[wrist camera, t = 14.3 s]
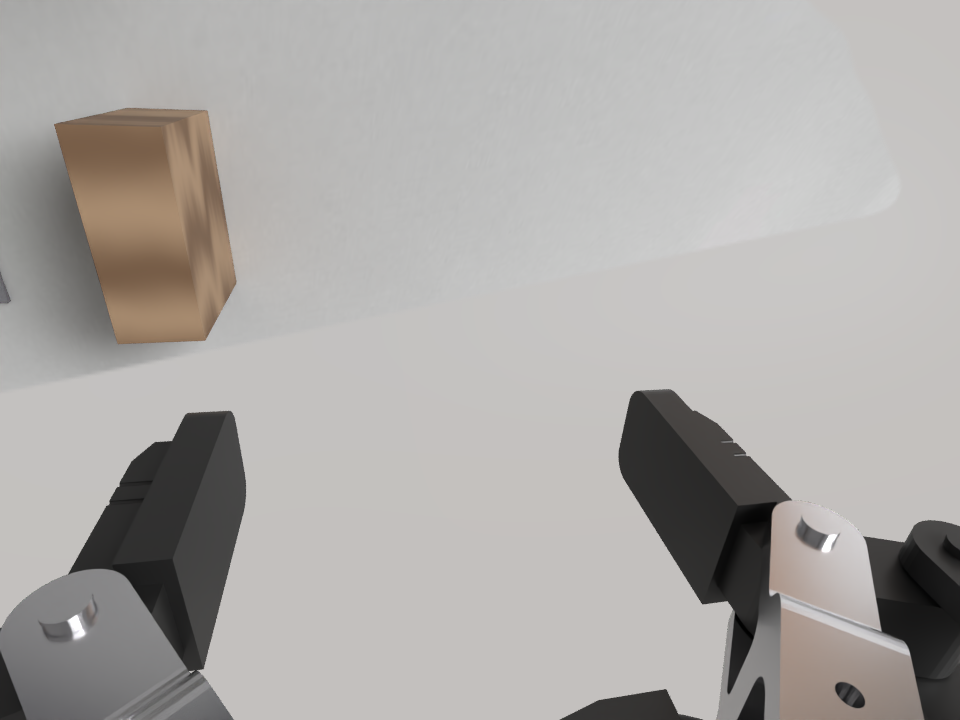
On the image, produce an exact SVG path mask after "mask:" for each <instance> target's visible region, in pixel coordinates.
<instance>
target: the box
mask: <svg viewBox="0 0 960 720" xmlns="http://www.w3.org/2000/svg"><path fill="white" fill-rule="evenodd" d="M54 126H55V129H56V133H57V136H58V140H59V143H60V147H61V150H62V153H63V157H64V160H65V164H66V167H67V171H68V174H69V178H70V181H71V184H72V188H73V191H74V195H75V198H76V202H77V205H78V209H79V212H80V215H81V219H82V222H83V226H84V229H85V233H86V236H87V240H88V243H89V246H90V250H91V253H92V257H93V260H94V264H95V267H96V271H97V274H98V277H99V281H100V284H101V288H102V291H103V295H104V298H105V302H106V305H107V309H108V312H109V315H110V319H111V322H112V326H113V329H114V333H115V336H116V340H117V343H118V344H131V343H156V342H181V341H205V340H206V338H207V336H208V334H209V333H210V331H211V329H212V327H213V325H214V323H215V322H216V320H217V318H218V316H219V314H220V312H221V310H222V309H223V307H224V305H225V303H226V301H227V299H228V298H229V296H230V294H231V292H232V290H233V288H234V287H235V285H236V277H235V271H234V265H233V259H232V253H231V247H230V242H229V236H228V230H227V224H226V218H225V212H224V206H223V200H222V194H221V188H220V182H219V176H218V170H217V164H216V159H215V153H214V147H213V141H212V135H211V129H210V123H209V117H208V111H202V110H172V109H141V108H125V109H121V110H116V111H112V112H107V113H103V114H98V115H93V116H89V117H84V118H80V119H75V120H70V121H66V122H61V123H57V124H54Z"/></svg>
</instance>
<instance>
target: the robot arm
mask: <svg viewBox="0 0 960 720" xmlns="http://www.w3.org/2000/svg"><path fill="white" fill-rule="evenodd" d="M619 465H620V470H621V473H622V476H623V478H624V480H625V482H626V483H627V485H628V486H629V488H630V490H631V491H632V493H633V494H634V496H635V498H636V499H637V501H638V502H639V504H640V506H641V507H642V509H643V510H644V512H645V514H646V515H647V517H648V518H649V520H650V522H651V523H652V525H653V526H654V528H655V529H656V531H657V533H658V534H659V536H660V538H661V539H662V541H663V542H664V544H665V546H666V547H667V549H668V550H669V552H670V554H671V555H672V557H673V558H674V560H675V561H676V563H677V565H678V566H679V568H680V570H681V571H682V573H683V574H684V576H685V577H686V579H687V581H688V582H689V584H690V585H691V587H692V589H693V590H694V592H695V593H696V595H697V597H698V598H699V600H700V601H701V603H702V604H709V603H717V602H724V601H728V602H729V604H730V605H731V607H732V608H733V611H732V613H731V616H730V618H729V622H728V629H727V630H728V631H727V639H726V648H725V656H724V665H723V666H724V667H723V675H722V683H721V692H720V701H719V709H718V714H717V719H716V720H960V526H957V525H954V524H950V523H946V522H942V521H931V520H928V521H922V522H919V523H917V524H916V525H915V526H914V527H913V529H912V531H911V533H910V534H909V536H908V538H907V540H906V541H905V543H903V542H896V541H890V540H884V539H877V538H870V537H864V536H862V534H861V533H860V532H859V530H858V529H857V528H856V527H855V526H854V525H853V524H852V523H850V522H849V521H848V520H847V519H845V518H844V517H842V516H841V515H839V514H837V513H836V512H834V511H832V510H830V509H828V508H825V507H823V506H820V505H817V504H814V503H810V502H805V501H796V500H794V501H792V500H791V498H789V496H788V495H787V494H786V493H785V492H784V491H783V490H782V489H781V488H780V487H779V486H778V485H777V484H776V483H775V482H774V481H773V480H772V479H771V478H770V477H769V476H768V475H767V474H766V473H765V472H764V471H763V470H762V469H761V468H760V467H759V466H758V465H757V464H756V463H755V462H754V461H753V460H752V459H751V457H749V456H746V452H745V451H744V450H743V449H742V448H741V447H740V446H739V445H738V444H737V443H733V439H732V438H731V437H730V436H729V435H728V434H727V433H726V432H725V431H724V430H723V429H722V428H721V427H720V426H719V425H718V424H717V423H715V422H714V421H712V420H710V419H709V418H707V417H705V416H704V415H702V414H700V413H698V412H697V411H692V410H691V409H690V408H689V407H688V406H687V405H686V404H685V403H684V401H683V400H682V399H681V398H680V397H679V396H678V395H677V394H676V393H675V392H674V391H672V390H669V389H666V390H665V389H664V390H645V391H636V392H634V393H633V394H632V396H631V398H630V402H629V406H628V411H627V415H626V420H625V424H624V429H623V434H622V438H621V443H620V448H619ZM245 499H246V480H245V472H244V467H243V462H242V456H241V450H240V444H239V439H238V433H237V427H236V423H235V418H234V415H233V413H232V412H231V411H219V412H201V413H200V412H199V413H187V414H186V415H185V417H184V418H183V420H182V422H181V424H180V426H179V428H178V430H177V432H176V434H175V436H174V438H173V441H167V442H155V443H153V444H152V445H151V446H150V447H148V448H147V449H146V450H145V451H144V452H142V453H141V454H140V455H139V456H138V457H136V458H135V459H134V460H133V461H132V462H131V464H130V465H129V467H128V469H127V471H126V473H125V474H124V476H123V478H122V479H121V481H120V487H117V488H116V490H115V492H114V494H113V496H112V497H111V499H110V504H109V505H108V506H106V508H105V510H104V511H103V513H102V515H101V517H100V519H99V520H98V522H97V524H96V526H95V527H94V529H93V531H92V533H91V535H90V536H89V538H88V540H87V542H86V543H85V545H84V547H83V549H82V550H81V552H80V554H79V556H78V558H77V559H76V561H75V563H74V565H73V566H72V568H71V570H70V572H69V574H68V575H66V576H62V577H60V578H58V579H56V580H53V581H51V582H49V583H48V584H46V585H44V586H42V587H40V588H39V589H37V590H36V591H34V592H33V593H31V594H30V595H29V596H28V597H26V598H25V599H24V600H23V601H22V602H21V603H20V604H19V605H17V606H16V608H14V610H13V611H12V612H11V613H10V615H9V616H8V617H7V619H6V621H5V622H4V624H3V626H2V628H0V720H233V718H232V716H231V715H230V714H229V712H228V711H227V709H226V708H225V706H224V705H223V703H222V702H221V700H220V699H219V697H218V696H217V694H216V693H215V691H214V690H213V689H212V687H211V686H210V684H209V683H208V682H207V680H206V679H205V678H204V676H203V675H201V673H200V672H198V671H197V670H201V669H204V665H205V661H206V657H207V653H208V649H209V645H210V642H211V638H212V633H213V630H214V626H215V622H216V618H217V614H218V610H219V606H220V602H221V598H222V595H223V590H224V587H225V583H226V579H227V575H228V571H229V567H230V563H231V559H232V555H233V551H234V547H235V544H236V539H237V536H238V532H239V528H240V524H241V520H242V516H243V512H244V508H245ZM193 670H195V671H194V672H192V673H190V672H189V671H193ZM560 720H702V719H698V718H694V717H690V716H686V715H680V714H678V713H677V711H676V709H675V706H674V704H673V702H672V700H671V698H670V696H669V694H668V692H667V690H666V689H664V690H659V691H653V692H646V693H640V694H634V695H628V696H622V697H616V698H610V699H603V700H598V701H596V702H594V703H592V704H590V705H588V706H586V707H584V708H582V709H580V710H578V711H577V712H574V713H572V714H570V715H568V716H566V717H564V718H562V719H560Z"/></svg>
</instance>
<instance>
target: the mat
mask: <svg viewBox="0 0 960 720" xmlns="http://www.w3.org/2000/svg"><path fill="white" fill-rule="evenodd" d="M8 302H10V298H9V295H8V293H7V290H6V287H5V285H4V282H3V279H2V277H1V274H0V303H8Z"/></svg>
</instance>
